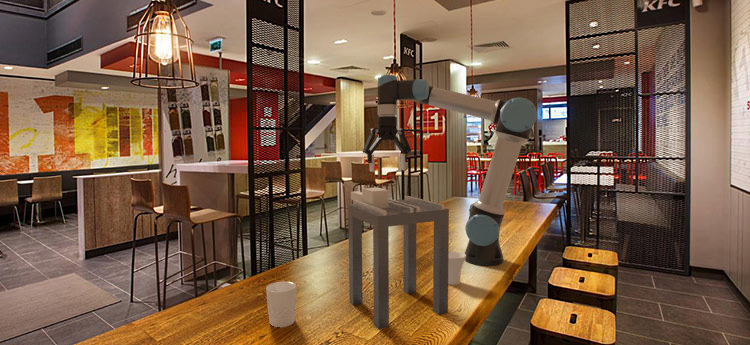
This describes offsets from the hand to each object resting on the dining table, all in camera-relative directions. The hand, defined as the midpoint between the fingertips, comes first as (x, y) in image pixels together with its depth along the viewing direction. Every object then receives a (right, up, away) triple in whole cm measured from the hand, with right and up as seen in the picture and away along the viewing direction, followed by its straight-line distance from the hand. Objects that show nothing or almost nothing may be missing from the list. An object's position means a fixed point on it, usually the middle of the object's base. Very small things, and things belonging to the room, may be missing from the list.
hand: (387, 170), depth 159 cm
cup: (+22, -39, -19) cm, 48 cm away
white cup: (-30, -42, -48) cm, 71 cm away
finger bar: (-7, -10, -36) cm, 38 cm away
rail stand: (+2, -40, -39) cm, 56 cm away
